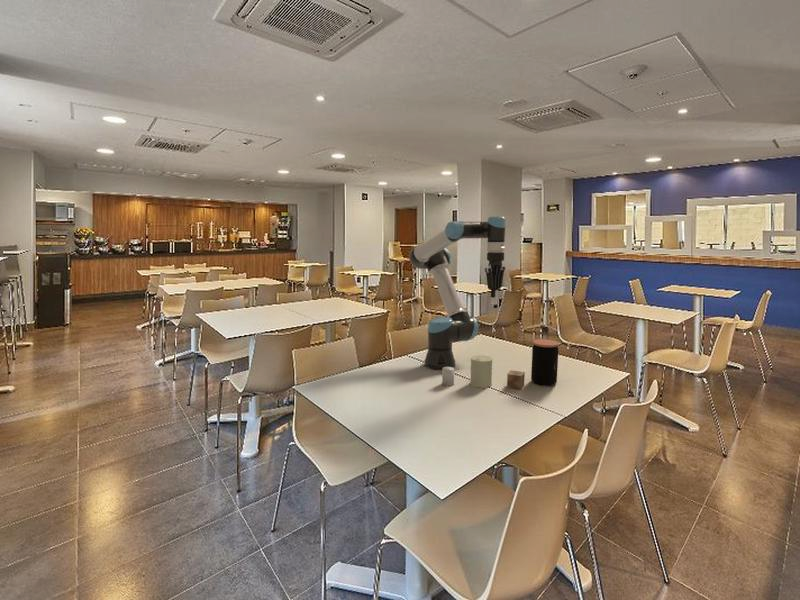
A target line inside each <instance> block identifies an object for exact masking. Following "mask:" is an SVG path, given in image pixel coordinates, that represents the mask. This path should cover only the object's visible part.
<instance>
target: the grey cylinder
mask: <svg viewBox="0 0 800 600" xmlns="http://www.w3.org/2000/svg"><path fill="white" fill-rule="evenodd" d="M441 371H442V374H441V375H442V376H441V377H442V380H441V381H442V382H441V386H445V387H453V386H454V385H455V367H454V368H453V367H443V368H442V370H441Z"/></svg>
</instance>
